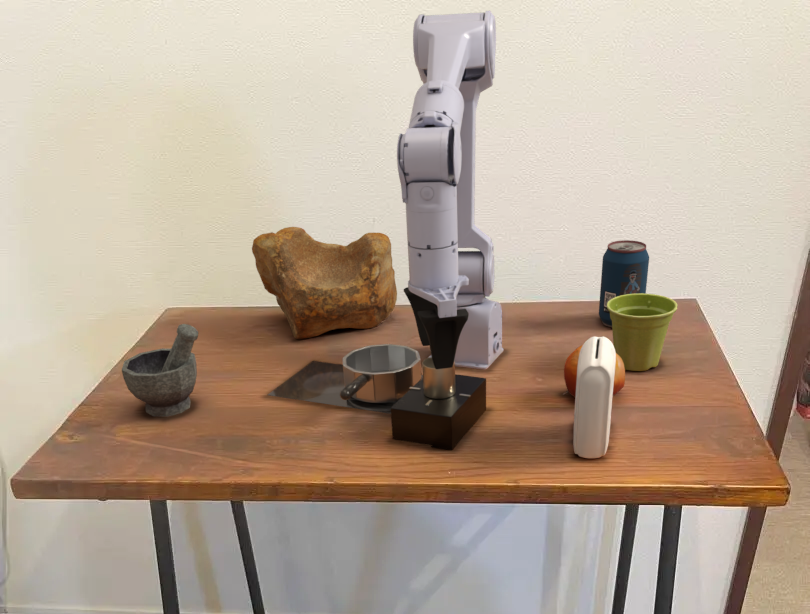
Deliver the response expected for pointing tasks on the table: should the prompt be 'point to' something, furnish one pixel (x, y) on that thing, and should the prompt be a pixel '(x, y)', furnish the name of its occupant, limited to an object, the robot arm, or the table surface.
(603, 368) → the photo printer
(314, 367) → the hob
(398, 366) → the saucepan
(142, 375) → the mortar and pestle
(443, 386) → the knob
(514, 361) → the table surface
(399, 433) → the box
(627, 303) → the plant pot
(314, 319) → the rough brown rock
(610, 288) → the soda can
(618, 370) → the fruit
